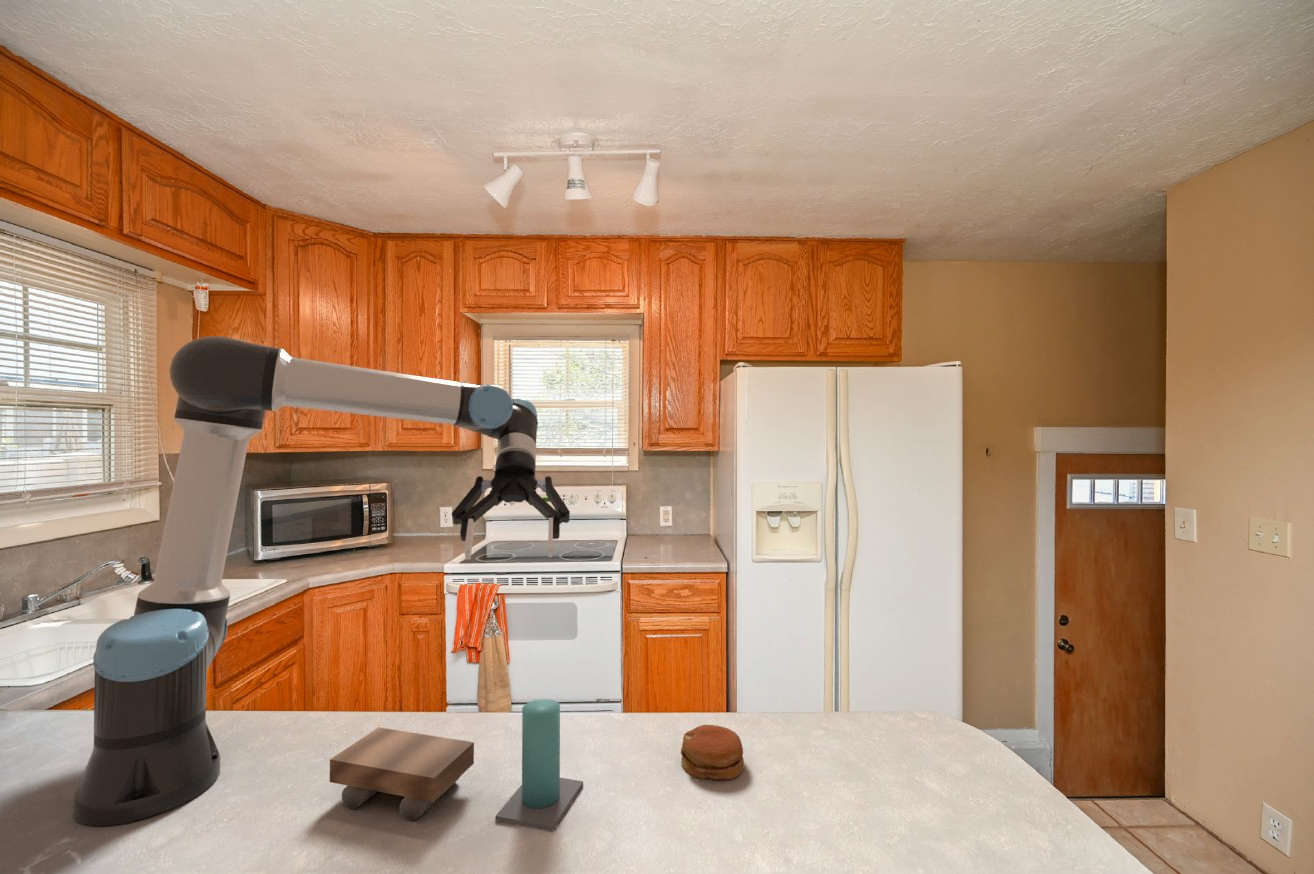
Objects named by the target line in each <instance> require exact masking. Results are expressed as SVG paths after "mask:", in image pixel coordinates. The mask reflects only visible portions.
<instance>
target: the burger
mask: <svg viewBox="0 0 1314 874" xmlns="http://www.w3.org/2000/svg"><path fill="white" fill-rule="evenodd" d="M680 754H681V762H680V763H681V767H682V769H683V770H684V771H685V772H686V773H688V775H689V776H692V777H694V778H698V779H703V780H705V779H711V780H716V781H719V780H732V779H735V778H736V777H738V776H739V775H740V774H741V773H742V772H743V771H744V757H743V756H744V748H743V743H742V740H741V738H740V736H739V735H738V734H737V733H736V732H735V731H734V730H732V729H730V728H727V727H724V726H720V725H714V724H703V725H698V726H696V727H695V728H693V729H691V730H688V731H686V732H685V733H684V735H683V738H682V744H681V748H680Z"/></svg>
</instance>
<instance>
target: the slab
mask: <svg viewBox="0 0 1314 874" xmlns="http://www.w3.org/2000/svg"><path fill="white" fill-rule="evenodd" d="M474 755H475V743H474V742H473V741H467V740H462V739H461V740H460V739H455V738H449V737H441V736H438V735H437V736H436V735H431V734H430V735H429V734H424V733H418V732H410V731H404V730H400V729H399V730H397V729H393V728H392V729H391V728H386V727H379V726H378V727H377V728H376V729H373V730H372V731H371V732H370V733H368V734H366V735H365V736H363V737H362V738H360V739H359V740H356V741H355V742H354V743H352V744H351V745H349V746H348V747H347V748H345V749H344V750H342V751H340V752H339V753H337V754H336V755H334V756H333V757H331V758H329V783H332V784H337V785H342V786H346V787H345V788H343V790H342V793H341V800H342V803H343V804H344V806H345V807H346V808H348V809H349V810H356V809H357V808H359V807H360V806H361V805H362V804H363V803H365V802H366V801H367V800H369V799H371V797H373V795H375V794H377V792H379V793H384V794H390V795H394V796H395V795H396V796H400V797H404V798H403V799H402V800H401V801H400V803H399V812H400V814H401V816H402V817H403V819H405V820H406V821H409V822H415V821H416V820H418V819H419V818H420V817H421V816H422V815H423V814H424V813H425V812H426V811H427V810H428V809H429V808H430V807H431V806H432V805H433V804H434V803H435V802H436V801H438V799H440V798H441V797H442V795H444V794H445V793H446V792H447V791H448V790H449V789H450V788H451V787H452V786H453V785H454V784H455V783H457V781H458V780H460V778H461V776H463V774H464V773H465V772H467V771H468V770H469V769H470V768H471V767H472V766H473V765H474V761H475V759H474V758H475V757H474Z"/></svg>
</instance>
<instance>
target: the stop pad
mask: <svg viewBox="0 0 1314 874" xmlns="http://www.w3.org/2000/svg"><path fill="white" fill-rule="evenodd" d="M583 787H584V781H583V780H577V779H572V778H565V777H560V797H559V799H558V800H557V802H555V803H554V804H553V805H551V806H548V807H545V808H539V809H535V808H530V807H527V806H525V805H524V804H523V802H522V784H521V785H520V786H519V787H518V788H517V790H516V791H515V792H514V793H513V794H512V795H511V797H510V798H508V800H507V801H506V803H505V804H504V805H503V806H502V808H501V809H500V810H499V811H498V812H497V813H496V814H495V819H494V820H495V821H496V822H501V823H506V824H510V825H515V826H516V825H517V826H522V827H527V828H533V829H537V830H542V831H547V832H551V833H552V832H554V831H555V829H556V828H557V827H558V824H559V823H560V822H561V820H562V819H563V817H564V815H565V814H566V812H567V811H568V809H569V807H570V806H571V805H572V803H573V802H574V801H575V799H576V797H578V796H577V795H579V793H580V792H581V790H582V788H583Z"/></svg>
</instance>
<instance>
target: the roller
mask: <svg viewBox="0 0 1314 874" xmlns="http://www.w3.org/2000/svg"><path fill="white" fill-rule="evenodd" d="M521 714H522V715H521V717H522V719H521V725H522V726H521V727H522V728H521V732H522V733H521V737H522V738H521V742H522V743H521V744H522V746H521V749H522V750H521V752H522V753H521V785H522V802H523V804H524V805H525V806H527V807H530V808H535V809H539V808H545V807H548V806H551V805H553V804H554V803H555V802H557V800H558V799H559V797H560V778H561V773H560V772H561V771H560V770H561V769H560V768H561V767H560V766H561V747H560V746H561V704H560V703H559V702H558V701H557V700H554V699H548V698H547V699H545V698H543V699H536V700H532V701H528V702H527V703H526V704H524V705H523V706H522V713H521Z"/></svg>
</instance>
